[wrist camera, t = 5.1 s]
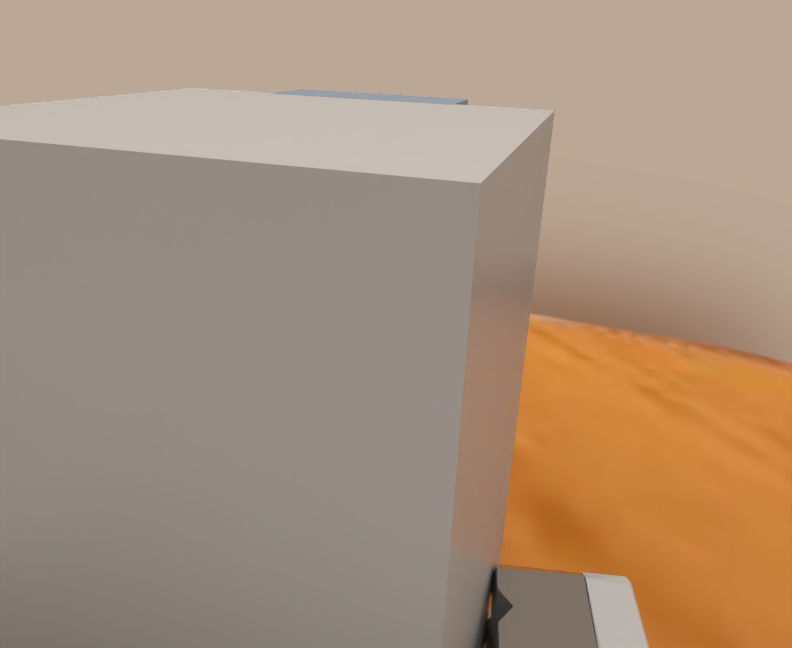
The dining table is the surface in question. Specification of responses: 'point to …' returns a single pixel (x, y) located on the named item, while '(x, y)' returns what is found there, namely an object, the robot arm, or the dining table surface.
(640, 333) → the dining table surface
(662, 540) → the dining table surface
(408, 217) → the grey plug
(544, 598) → the robot arm
